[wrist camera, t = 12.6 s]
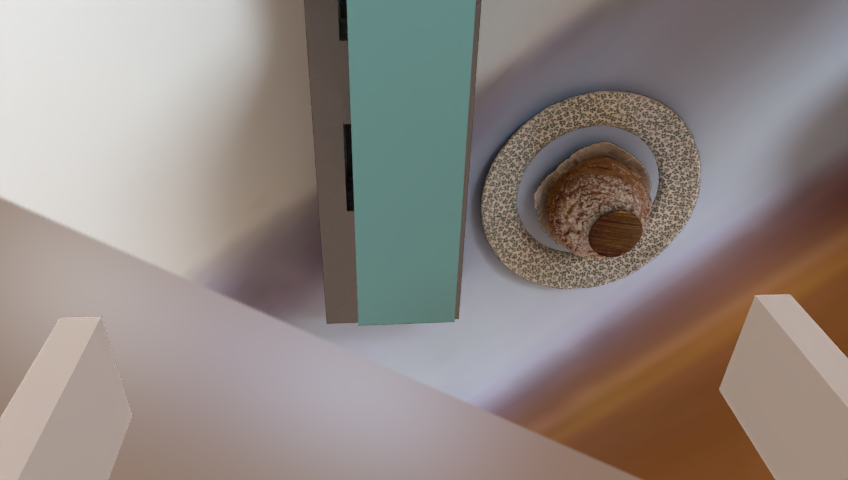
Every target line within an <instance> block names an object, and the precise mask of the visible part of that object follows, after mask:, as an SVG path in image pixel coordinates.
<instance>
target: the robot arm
mask: <svg viewBox="0 0 848 480" xmlns="http://www.w3.org/2000/svg"><path fill="white" fill-rule="evenodd" d="M719 391H720V392H721V394H722V395H723V397H724V398H725V400H726V402H727V403H728V405H729V406H730V408H731V410H732V411H733V413H734V414H735V416H736V418H737V419H738V421H739V422H740V424H741V426H742V427H743V429H744V430H745V432H746V434H747V435H748V437H749V438H750V440H751V442H752V443H753V445H754V446H755V448H756V450H757V451H758V453H759V454H760V456H761V458H762V459H763V461H764V462H765V464H766V465H767V467H768V469H769V470H770V472H771V473H772V475H773V477H774V478H775V480H848V358H847V357H846V356H845V355H844V354H843V353H842V352H841V350H840V349H839V348H838V347H837V346H836V345H835V344H834V343H833V342H832V340H831V339H830V338H829V337H828V336H827V335H826V334H825V333H824V332H823V330H822V329H821V328H820V327H819V326H818V325H817V324H816V323H815V322H814V320H813V319H812V318H811V317H810V316H809V315H808V314H807V313H806V312H805V310H804V309H803V308H802V307H801V306H800V305H799V304H798V303H797V301H796V300H795V299H794V298H793V297H792V296H791V295H790V294H781V295H755V297H754V299H753V302H752V305H751V307H750V310H749V313H748V315H747V318H746V320H745V323H744V326H743V328H742V331H741V333H740V336H739V339H738V341H737V344H736V346H735V349H734V352H733V354H732V357H731V359H730V362H729V365H728V367H727V370H726V373H725V375H724V378H723V380H722V383H721V386H720V388H719ZM132 416H133V415H132V412H131V409H130V406H129V403H128V399H127V396H126V393H125V390H124V387H123V383H122V380H121V377H120V374H119V371H118V367H117V364H116V361H115V358H114V355H113V352H112V348H111V345H110V342H109V339H108V336H107V332H106V329H105V326H104V323H103V320H102V317H101V316H97V317H96V316H95V317H64V318H59V320H58V321H57V323H56V325H55V326H54V328H53V330H52V332H51V333H50V335H49V337H48V338H47V340H46V342H45V343H44V345H43V347H42V348H41V350H40V352H39V353H38V355H37V357H36V359H35V360H34V362H33V364H32V365H31V367H30V369H29V370H28V372H27V374H26V375H25V377H24V379H23V380H22V382H21V384H20V385H19V387H18V389H17V390H16V392H15V394H14V396H13V397H12V399H11V400H10V402H9V404H8V406H7V407H6V409H5V411H4V412H3V414H2V416H1V417H0V480H109V478H110V475H111V472H112V469H113V467H114V464H115V462H116V459H117V456H118V454H119V451H120V448H121V446H122V443H123V440H124V438H125V435H126V432H127V430H128V427H129V424H130V422H131V419H132Z"/></svg>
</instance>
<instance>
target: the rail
mask: <svg viewBox="0 0 848 480" xmlns="http://www.w3.org/2000/svg"><path fill="white" fill-rule="evenodd" d="M304 6H305V21H306V35H307V49H308V63H309V78H310V92H311V106H312V120H313V134H314V149H315V163H316V177H317V191H318V205H319V220H320V234H321V248H322V262H323V276H324V291H325V305H326V319H327V324H332V323H358V299H357V272H356V244H355V217H354V189H353V177H347V154H346V130H345V124H351V107H350V79H349V52H348V24H347V19H341V9H340V0H304ZM480 12H481V0H476V6H475V21H474V36H473V51H472V66H471V81H470V96H469V110H468V125H467V140H466V155H465V170H464V185H463V200H462V215H461V230H460V245H459V260H458V275H457V290H456V305H455V319H459V307H460V293H461V278H462V264H463V250H464V236H465V222H466V208H467V194H468V180H469V166H470V152H471V138H472V124H473V110H474V96H475V82H476V68H477V54H478V40H479V26H480Z"/></svg>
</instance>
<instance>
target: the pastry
mask: <svg viewBox="0 0 848 480" xmlns="http://www.w3.org/2000/svg"><path fill="white" fill-rule="evenodd" d="M590 126H612V127H617V128H621V129H624V130H627V131H629V132H631V133H633V134H635V135H636V136H638V137H639V138H640V139H641V140H643V141H644V142H645V143H646V144H647V145H648V147H649V148H650V149H651V151H652V153H653V155H654V157H655V159H656V162H657V166H658V170H659V184H658V190H657V193H656V197H655V200H654V202H653V204H652V203H651V198H650V191H651V182H650V176H649V175H648V173H647V172H646V170H645V167H644V166H643V165H642V164H641V162H640V161H638V160H637V158H635V157H634V156H632V155H631V154H630V153H629V152H626V151H625V150H624V149H622V148H619V147H618V146H617V145H615V144H612V143H610V142H599V143H596V144H592V145H589V146H586V147H583V148H581V149H579V150H577V151H576V152H575V153H573V154H572V155H571V156H570V157H569V158H568V159H566V160H565V161H563V162H562V163H561V164H560V165H559V166H558V167H557V168H556V170H555V171H554V172H552V173H550V174H549V175H547V176H546V177H545V179H544V180H543V181H542V183H541V185H540V186H539V187H538V188H537V191H536V192H535V194H534V197H535V198H534V202H535V209H536V210H537V216H538V218H539V220H538V221H539V223H540V224H541V228H542V229H543V230H544V233H545V231H546V232H548V235H549V237H551V239H552V240H556V243H557V244H559V243H561V245H562V246H563V247H567V248H568V249H569V250H571V251H572V252H562V251H558V250H554V249H551V248H549V247H546V246H544V245H543V244H541V243H539V242H538V241H536V240H535V239H534V238H533V237H532V236H531V235H530V234H529V233H528V232H527V230H526V229H525V228H524V226H523V225H522V222H521V220H520V217H519V214H518V208H517V193H518V192H517V191H518V188H519V184H520V181H521V178H522V176H523V173H524V171H525V169H526V168H527V166H528V165H529V163H530V162H531V160H532V159H533V158H534V157H535V156H536V154H537V153H538V152H539V151H540V150H542V149H543V148H544V147H545V146H546V145H547V144H549V143H550V142H551V141H553V140H555V139H556V138H558V137H560V136H562V135H564V134H565V133H568V132H571V131H573V130H576V129H579V128H584V127H590ZM700 166H701V164H700V157H699V153H698V150H697V147H696V144H695V142H694V138H693V136H692V134H691V132H690V130H689V128H688V127H687V125H686V124H685V123H684V122H683V120H682V119H681V118H680V117H679V116H678V115H677V114H676V113H675V112H673V110H671V109H670V108H668V107H667V106H665V105H663V104H662V103H660V102H658V101H657V100H655V99H654V100H652V99H650V98H648V97H646V96H643V95H638V94H634V93H631V92H622V91H619V92H617V91H595V92H593V93H588V94H583V95H579V96H578V95H576V96H574V97H571V98H568V99H565V100H563V101H561V102H559V103H555V104H553V105H551V106H549V107H546V108H545V109H544V110H543V111H542V112H540V113H538V114H537V115H535V116H534V117H533V118H531V119H530V120H528V121H527V122H525V123H524V124H523V126H521V127H520V128H519V129H518V130H517V131H516V132H515V133H514V134H513V135H512V137H510V138H509V140H508V141H507V142H506V143H505V145H504V146H503V147H502V149H501V150H500V152H499V153H498V154H497V156H496V158H495V160H494V161H493V163H492V164H491V166H490V169H489V171H488V174H487V176H486V179H485V182H484V186H483V190H482V195H481V218H482V223H483V227H484V232H485V236H486V238H487V242H488V243H489V245H490V246H491V248H492V249H493V251H494V252H495V254H496V256H497V257H498V258H499V260H500V261H501V262H502V263H503V264H504V265H505V266H506V267H507V268H508V269H510V270H511V271H512V272H514V273H515V274H517V275H519V276H520V277H522V278H524V279H526V280H528V281H531V282H533V283H537V284H541V285H546V286H550V287H555V288H560V289H571V288H584V287H595V286H599V285H604V284H607V283H610V282H613V281H616V280H618V279H621V278H623V277H625V276H628V275H629V274H631V273H633V272H635V271H637V270H638V269H640V268H641V267H642V266H644V265H645V264H647V263H648V262H649V261H651V260H652V259H654V258H655V257H657V256H658V255H659V254H660V253H661V252H663V251H664V250H665V249H666V247H667V246H668V245H669V244H670V242H671V241H672V240H673V239H674V238H675V237H676V236H677V235H678V234H679V233H680V231H681V230H682V229H683V227H684V226H685V225H686V223H687V221H688V219H689V218H690V216H691V214H692V212H693V209H694V206H695V204H696V201H697V198H698V194H699V187H700ZM651 204H652V206H651ZM544 209H545V210H544Z"/></svg>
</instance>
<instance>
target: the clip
mask: <svg viewBox="0 0 848 480" xmlns="http://www.w3.org/2000/svg"><path fill="white" fill-rule="evenodd" d="M475 6H476V0H347V24H348V52H349V79H350V107H351V134H352V162H353V189H354V217H355V244H356V272H357V299H358V326H361V325H387V324H413V323H439V322H454V320H455V305H456V290H457V275H458V260H459V245H460V230H461V215H462V200H463V185H464V170H465V155H466V140H467V125H468V110H469V96H470V81H471V66H472V51H473V36H474V21H475Z"/></svg>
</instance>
